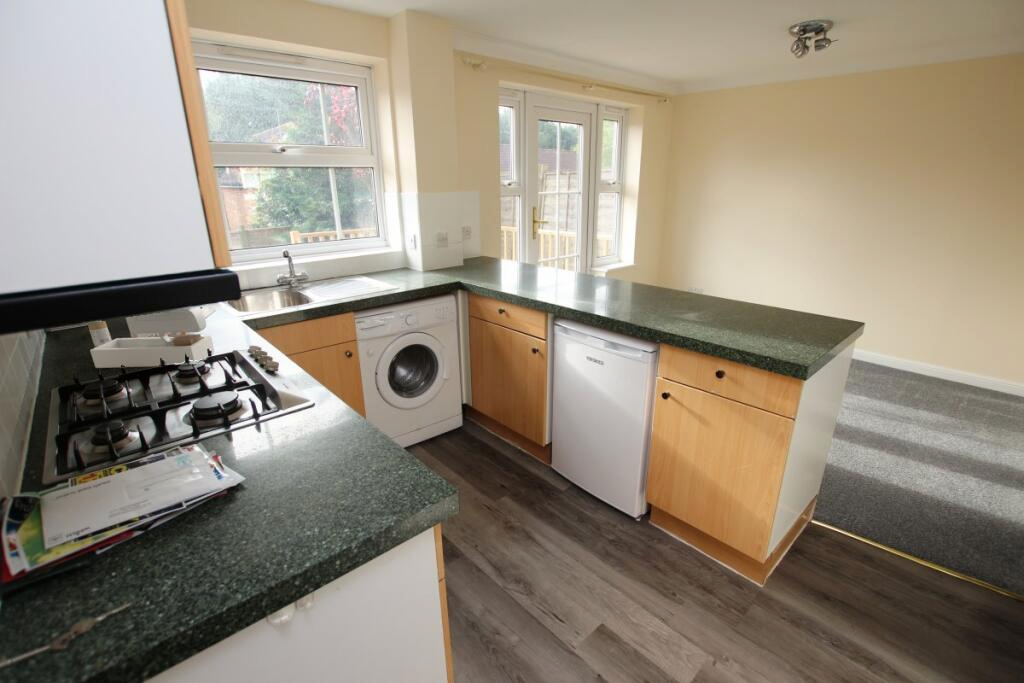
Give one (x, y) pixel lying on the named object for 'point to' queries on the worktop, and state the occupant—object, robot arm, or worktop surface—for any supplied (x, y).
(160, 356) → the channel
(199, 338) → the walnut block
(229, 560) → the worktop surface
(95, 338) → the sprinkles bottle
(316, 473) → the worktop surface
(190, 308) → the robot arm
